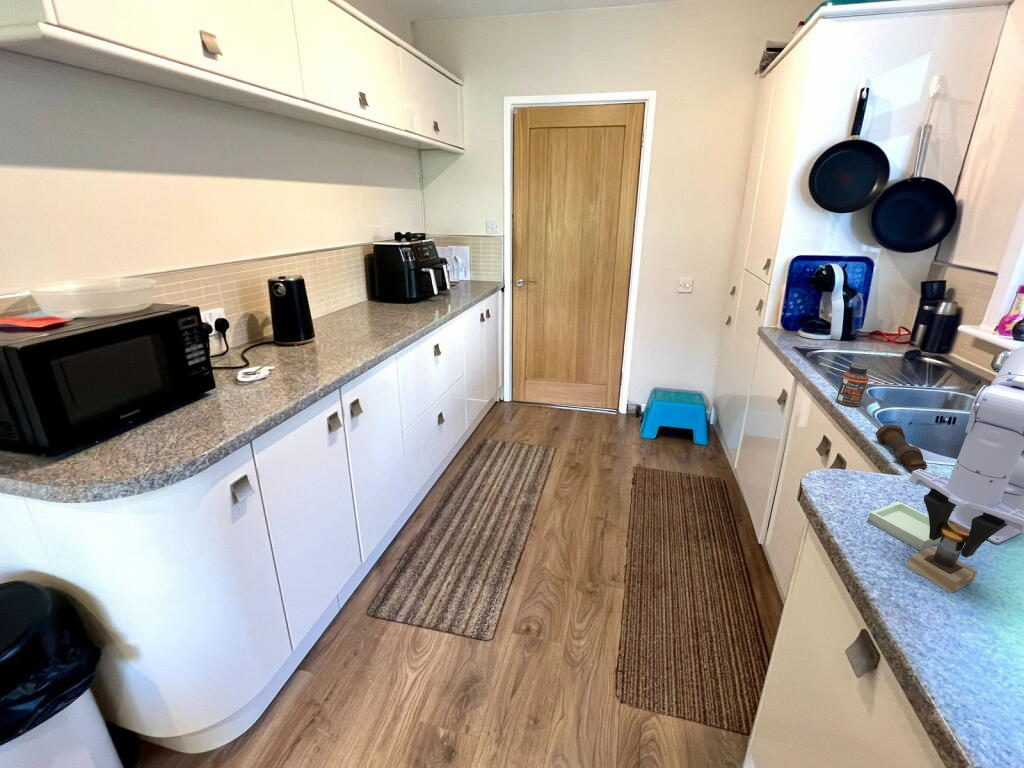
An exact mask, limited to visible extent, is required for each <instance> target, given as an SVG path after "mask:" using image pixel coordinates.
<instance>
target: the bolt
mask: <svg viewBox="0 0 1024 768" xmlns="http://www.w3.org/2000/svg"><path fill="white" fill-rule="evenodd" d="M875 437H876V439H877V442H878V443H879V445H882V446H888V447H889V448H890V449H891V450H892V451H893V452H894V455H895V458H896V462H897V463H898V464H899V465H901V466H904V467H907V468H908V470H909V471H911V472H913V471H915V470H918V469H922V470H924V471H926V469H927V468H928V464H927V462H926V461H925V460H924V455H923V453H922V451H921V449H920V448H919V447H918V446H914V445H910V444H909V443H908V442H907V441H906V436H905V433H904V431H903V428H902V427H901V426H900V425H896V424H885V425H882V426H881V427H880V428H878V429H877V431H875Z"/></svg>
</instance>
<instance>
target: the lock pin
mask: <svg viewBox="0 0 1024 768" xmlns="http://www.w3.org/2000/svg"><path fill="white" fill-rule="evenodd" d="M940 532H941V533H942V534H943V535H942V537H941V540H940V542H939V543H938V544H937V547H936V552H935V554H934V557H933V559H934V560H935V561H936V562H937V563H939V564H940V565H942V566H945V567H950V568H953V567H955V565H956V563H957V561H958V560H959V558H960V556H961V552H962V549H963V547H964V545H965V543H966V541H967V539H968V537H969V533H970V531H969V530H968V529H966V528H964V527H962V526H959V525H957V524H955V523H953V522H948V523H943V524H942V525H941V528H940Z"/></svg>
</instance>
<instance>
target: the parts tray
mask: <svg viewBox="0 0 1024 768" xmlns="http://www.w3.org/2000/svg"><path fill="white" fill-rule="evenodd" d="M866 522H867V523H869V524H871V525H873V526H875V527H876V528H878V529H880V530H881V531H884V533H887V534H889V535H890V536H892V537H894V538H896V539H898V541H899V540H900V541H901V542H903V541H904V542H903V543H905V542H906V543H905V544H907V543H908V544H910V545H911V546H910V545H909V546H910V547H912V546H913V547H912V548H914V547H915V548H914V549H916V550H917V549H918V551H919V550H920V551H923V550H924V549H927V548H929V547H932V546H933V545H934V546H936V545H939V542H940V540H941V538H938V539H936V540H934V541H933V540H932V539H930V538H929V532H930V525H929V516H928V514H925V513H924V512H922V511H919V510H917V509H915V508H913V507H912V506H909V505H907V504H905V503H903V502H901V501H897V502H893V503H891V504H887V505H885V506H883V507H880V508H878V509H874V510H871V511H870V512H869V513H868V517H867V520H866ZM908 544H907V545H908ZM934 546H933V547H934ZM920 551H919V552H920Z"/></svg>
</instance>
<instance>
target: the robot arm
mask: <svg viewBox="0 0 1024 768" xmlns="http://www.w3.org/2000/svg"><path fill="white" fill-rule="evenodd" d="M969 410H970V411H969V417H968V423H967V425H966V427H965V433H966V435H965V439H964V441H963V444H962V446H961V448H960V451H959V454H958V456H957V459H956V462H955V464H954V467H953V469H952V472H951V474H950V476H949V477H945V476H941V475H939V474H935V473H933V472H929V471H927V470H922V469H918V470H915V471H911V475H910V478H909V481H908V482H909V483H911V484H913V485H917V486H918V485H920V486H922V487H924V488H927V489H928V490H929V492H928V493H927V494H924V495H923V502H924V505H925V507H926V510H927V515H928V516H929V525H930V532H929V538H930V539H932V540H933V541H934V540H936V539H938V538H941V537H942V535H943V534H942V533H941V532H940V528H941V525H942V524H943V523H949V522H950V523H952V524H956V525H959V526H962V527H964V528H966V529H968V530H969V531H970V533H969V537H968V539H967V541H966V543H965V544H964V547H963V549H962V551H961V554H960V556H962V557H964V558H967V559H968V558H970V557H971V556H973V555H974V554H975V553H976V551H978V549H979V548H980V547H981V545H983V544H984V543H985V542H986V541H990V542H991V543H994V544H996V545H997V544H998V545H999V544H1001V543H1004V542H1005V541H1007V540H1009V539H1011V538H1013V537H1016V536H1017V535H1020V534H1023V535H1024V346H1021V347H1020V346H1019V347H1017V348H1015V349H1014V350H1012V351H1011V353H1010V354H1009V356H1008V357H1007V358H1006V360H1005V362H1004V363H1003V365H1002V367H1001V368H1000V370H999V371H998V372H997V374H996V376H995V377H994V379H993V380H992V382H991V384H990V385H986V384H983V386H982V387H981V388H980V389H979V390H978V392H977V393H976V395H975V397H974V399H973V401H972V404H971V407H970V409H969ZM956 506H958V508H957V509H956V510H954V509H955V508H956Z"/></svg>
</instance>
